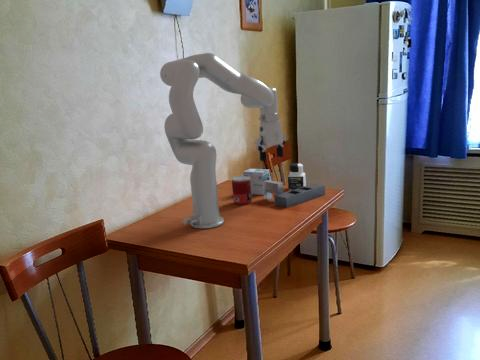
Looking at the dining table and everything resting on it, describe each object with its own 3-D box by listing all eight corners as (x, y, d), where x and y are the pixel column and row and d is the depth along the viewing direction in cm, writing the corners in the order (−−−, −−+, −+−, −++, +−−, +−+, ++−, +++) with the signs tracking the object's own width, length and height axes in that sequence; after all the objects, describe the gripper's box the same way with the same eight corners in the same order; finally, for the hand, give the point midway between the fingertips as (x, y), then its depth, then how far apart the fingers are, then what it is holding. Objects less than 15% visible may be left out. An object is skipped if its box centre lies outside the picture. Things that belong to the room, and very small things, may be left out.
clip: (283, 200, 187) (282, 182, 185) (278, 202, 185) (277, 184, 184) (269, 197, 194) (268, 179, 192) (264, 199, 192) (263, 181, 190)
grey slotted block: (286, 207, 177) (286, 198, 176) (274, 204, 182) (274, 195, 182) (325, 194, 192) (324, 185, 191) (312, 192, 197) (312, 183, 196)
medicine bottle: (288, 191, 202) (287, 165, 199) (291, 187, 209) (289, 162, 206) (303, 191, 200) (302, 165, 197) (306, 187, 207) (305, 162, 204)
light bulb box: (271, 191, 203) (269, 169, 201) (264, 195, 198) (262, 172, 195) (251, 190, 209) (249, 168, 207) (244, 193, 204) (242, 171, 201)
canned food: (252, 204, 185) (250, 179, 183) (233, 206, 185) (231, 180, 183) (252, 199, 193) (250, 175, 190) (233, 200, 193) (231, 176, 190)
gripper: (260, 121, 174) (262, 163, 177) (290, 116, 184) (292, 156, 188) (247, 120, 179) (250, 161, 183) (277, 115, 190) (280, 154, 194)
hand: (271, 158), depth 186 cm, fingers open, 9 cm apart
